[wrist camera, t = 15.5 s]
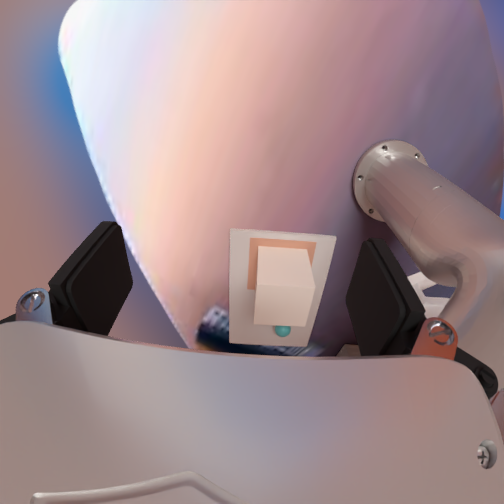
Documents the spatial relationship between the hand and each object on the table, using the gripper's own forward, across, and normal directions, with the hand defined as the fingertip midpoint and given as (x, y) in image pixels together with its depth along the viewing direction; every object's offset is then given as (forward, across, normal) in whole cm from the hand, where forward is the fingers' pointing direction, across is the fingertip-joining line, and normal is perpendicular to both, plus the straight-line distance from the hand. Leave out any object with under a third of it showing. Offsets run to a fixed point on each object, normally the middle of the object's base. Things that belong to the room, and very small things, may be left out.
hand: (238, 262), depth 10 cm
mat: (+28, -5, +27) cm, 39 cm away
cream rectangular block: (+28, -5, +20) cm, 34 cm away
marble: (+26, -7, +33) cm, 43 cm away
